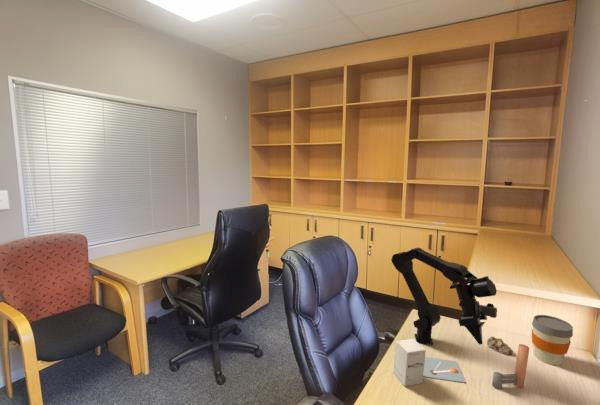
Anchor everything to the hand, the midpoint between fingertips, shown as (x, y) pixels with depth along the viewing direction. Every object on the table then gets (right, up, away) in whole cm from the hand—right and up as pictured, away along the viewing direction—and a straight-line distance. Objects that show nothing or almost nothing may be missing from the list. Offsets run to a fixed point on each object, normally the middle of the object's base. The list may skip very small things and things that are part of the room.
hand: (480, 344), depth 117 cm
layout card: (-14, -10, +2) cm, 17 cm away
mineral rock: (+17, -10, +17) cm, 26 cm away
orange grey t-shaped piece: (+6, -12, -6) cm, 14 cm away
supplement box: (-27, -11, -3) cm, 30 cm away
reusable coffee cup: (+32, -11, +11) cm, 36 cm away
